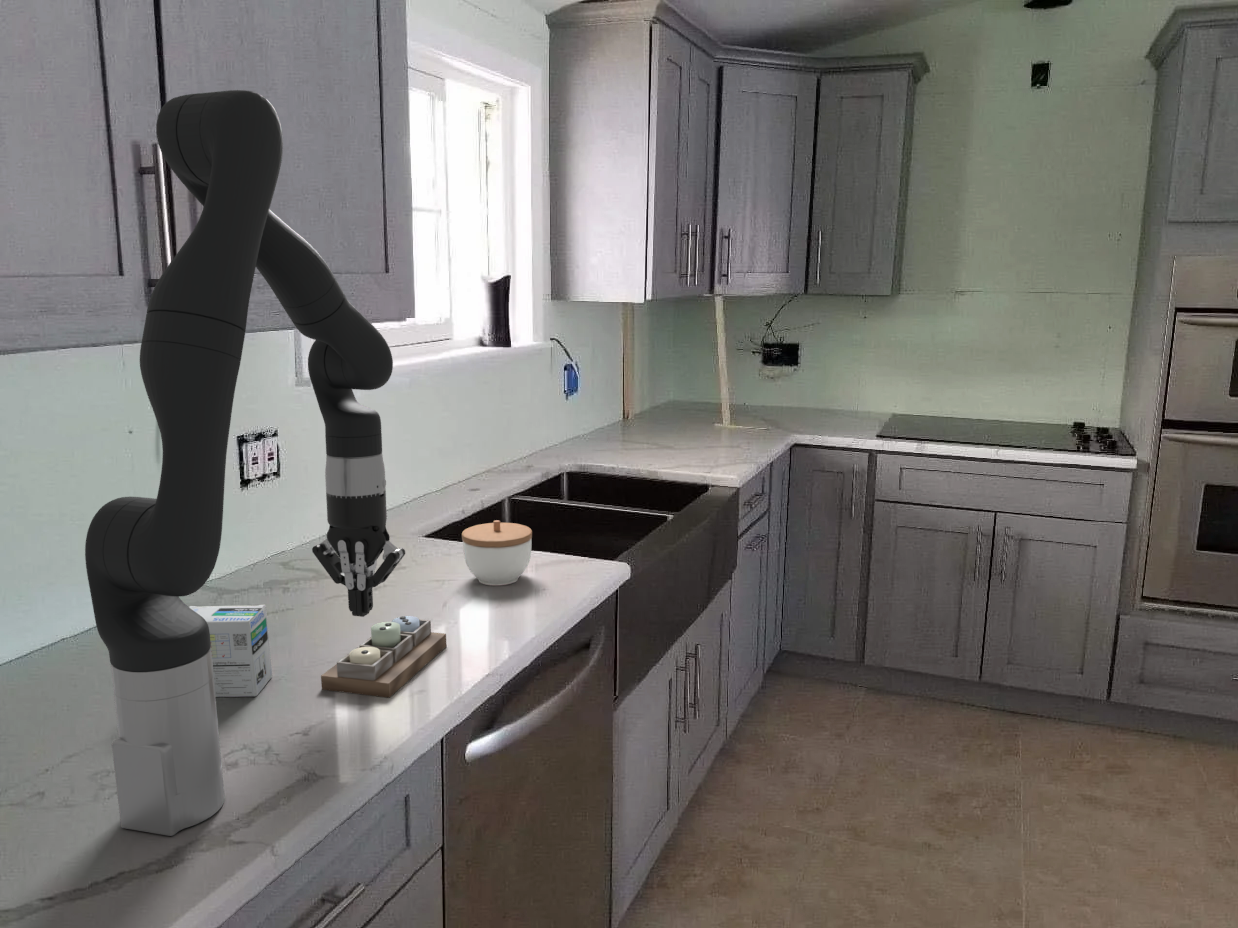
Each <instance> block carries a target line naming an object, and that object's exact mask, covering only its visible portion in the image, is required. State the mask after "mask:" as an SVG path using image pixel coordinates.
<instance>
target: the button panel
mask: <svg viewBox="0 0 1238 928" xmlns="http://www.w3.org/2000/svg"><path fill="white" fill-rule="evenodd" d="M398 617H399V616H398ZM398 617H396V618H398ZM431 622H432V621H431V620H429V619H419V624H420V627H419V628H418V629H416V630H415V631H414V632H405V631H400V634H401V642H400V643H399V644H398V645H397V646H395V647H394V648H389V647H379V646H372V639H371V637H369V638H367V639H366V640H365V641H364V642H362V643H361V644H360V645H359V647H355V649H357V648H361V647H376V648H378V649H379V650H380V659H379V660H378V661H377V662H375V663H374V664H373V665H367V664H358V663H350V652H349V653H347V654H346V655H345V656H344V657H342V658H341V659H340V660H338V661H337V662H336V664H334V665H333V666H332V667H331V668H330V669H328V670H327V671H324V673H323V674H321V675H320V681H321V683H320V684H321V690H323V691H329V692H331V691H332V692H337V693H338V692H340V693H348V694H357V695H363V696H364V695H365V696H372V697H380V698H381V697H382V698H383V697H384V698H389V699H390V698H391V697H392V696H393V695H395V693H397V692H398V691H399V690H400V689H401V688H403V686H405V684H407V683H408V682H409V681H410V680H411V679H412V678H414V677H415V675H417V674H418V672H420V671H421V670H422V669H424V668H425V667H426V665H428V663H430V662H431V661H432V660H433V659H434V658H435V657H436V656H437V655H439V654H440V653H441V652H443V650H444V649H445V648H446V647H447V633H441V632H432V626H431Z"/></svg>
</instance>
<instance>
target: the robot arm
mask: <svg viewBox="0 0 1238 928" xmlns="http://www.w3.org/2000/svg"><path fill="white" fill-rule="evenodd" d="M155 130H156V133H155V134H156V138H157V143H158V147H159V149H160V151H161V153H162V157H163V158H164V160H165V161H166V163H167V165H168V166H169V168H170V169H171V170H172V172H173V173H174V174H175V176H176V177H177V178H178V179H179V181H180V182H181V183H182V184H183V185H184V186H185V188H186V189H187V190H188V191H189V192H190V193H191V194H192V196H193V197H194V198H195V199H196V200H197V201H198V202H199V203H200V204H201V205H202V206H203V208H202V210H201V214H200V215H199V219H198V221H197V223H196V225H195V226H194V229H193V230H192V232H191V233H190V235H189V236H188V238H187V239H186V241H185V242H184V244H183V245H182V246H181V247H180V249H179V250H178V251H177V253H176V254H175V255H174V257H173V258H172V260H171V261H170V262H169V264H168V265H167V267H166V268H165V270H164V271H163V272H162V274H161V276H160V278H159V279H158V281H156V282H157V283H156V285H155V286H154V288H153V290H152V292H151V295H150V298H149V301H148V305H147V309H146V315H145V321H144V327H143V333H142V339H141V344H140V350H139V367H140V369H139V370H140V374H141V378H142V379H141V380H142V382H143V385H144V389H145V392H146V395H147V398H148V400H149V402H150V406H151V408H152V411H153V413H154V416H155V419H156V423H157V426H158V429H159V433H160V437H161V446H162V447H161V448H162V462H161V463H162V464H161V472H160V477H159V480H160V481H159V484H158V485H159V486H158V491H157V495H156V498H151V497H141V496H121V497H118V498H114V499H112V500H111V501H108V502H107V503H105V504H104V505H102V506H101V507H100V509H98V511H96V513H95V515H94V516H93V517H92V520H91V521H90V524H89V525H88V528H87V532H86V536H85V538H86V539H85V542H84V543H85V545H84V546H85V547H84V551H85V552H84V559H85V568H86V576H87V581H88V586H89V592H90V597H91V604H92V610H93V615H94V620H95V625H96V629H97V632H98V635H99V637H100V639H101V640H102V642H103V644H104V645H105V646H106V649H107V651H108V655H109V662H110V671H111V678H112V688H113V697H114V706H115V707H114V708H115V716H116V723H117V724H116V725H117V732H118V737H117V738H115V739H114V740H113V741H112V742H111V750H112V751H111V753H112V758H113V759H112V760H113V768H114V777H115V787H116V794H117V795H116V796H117V803H118V804H117V805H118V810H119V819H120V827H121V828H122V829H126V830H133V831H139V832H143V833H144V832H145V833H151V834H157V835H162V836H169V837H170V836H171V837H173V836H174V835H176V834H177V833H178V832H180V831H181V830H184V829H186V828H189V827H193V826H196V825H198V824H200V823H203V822H204V821H206V820H207V819H209V818H211V817H212V816H214V815H215V814H216V813H217V812H218V811H220V809H221V808H222V806H223V804H224V803H225V799H226V798H225V787H224V786H225V785H224V774H223V765H222V753H221V743H220V734H219V733H220V732H219V720H218V710H217V700H216V698H217V697H215V686H214V675H213V663H212V652H211V641H210V631H209V627H208V624H207V622H206V621H205V619H204V618H203V617H202V616H200V615H199V614H198V613H196V612H195V611H193V610H192V609H190V608H189V606H188V605H187V604H186V603H185V602H184V601H183V600H182V599H181V597H186V596H190V595H192V594H194V593H196V592H197V591H199V590H200V589H201V588H203V587H204V585H205V584H206V583H207V581H208V580H209V579H210V577H211V575H212V573H213V571H214V569H215V566H216V563H217V560H218V558H219V557H218V556H219V553H220V548H221V541H222V533H223V519H224V518H223V517H224V502H225V501H224V500H225V499H224V498H225V497H224V495H225V483H226V482H225V481H226V464H227V452H228V444H229V435H230V427H231V421H232V413H233V406H234V405H233V404H234V398H235V391H236V386H237V382H238V376H239V371H240V367H241V361H242V356H243V349H244V343H245V337H246V331H247V323H248V322H247V321H248V313H249V305H250V298H251V293H252V288H253V283H254V277H255V271H256V269H257V270H258V272H259V273H260V274H261V276H262V277H263V279H264V280H265V281H266V283H267V284H268V286H269V287H270V289H271V290H272V292H273V294H275V296H276V299H277V300H278V302H279V303H280V305H281V306H282V308H283V310H285V313H286V314H287V316H288V317H289V319H290V320H291V322H292V324H293V326H295V328H296V329H297V330H298V332H299V333H300V334H301V335H303V336H304V337H306V338H308V339H312V340H314V341H313V343H312V344H311V347H310V349H309V353H308V358H307V370H308V376H309V378H310V379H309V380H310V382H311V385H312V389H313V391H314V395H315V397H316V401H317V404H318V407H319V408H318V409H319V410H320V413H321V417H322V419H323V423H324V431H325V433H324V434H325V437H324V439H325V454H326V457H325V458H326V461H325V471H324V473H325V475H324V477H325V497H326V499H325V500H326V516H327V517H326V518H327V519H326V520H327V524H329V527H328V530H327V533H326V539H325V540H323V541H322V542H320V543H318V544H317V545H314V546H313V547H312V548H311V550H312V553H313V555H314V557H316V558H317V560H318V562H319V563H320V564H321V566H322V567H323V569H324V570H325V571H326V573H327V574H328V575H329V577H330V578H331V580H332V581H333V582H334V583H335V584H338V585H339V584H341V585H343V586H344V587H346V589H347V598H348V599H347V600H348V601H347V602H348V609H349V611H350V612H351V614H352V616H353V617H361V618H364V617H366V616H367V615H369V613H370V612H371V611H372V610H373V607H374V596H373V588H376V587H378V586H379V585H380V584H382V583H384V582H385V581H386V580H388V578H389V576H390V575H391V574H392V573H393V571H394V570H395V569H396V568H397V566H398V565H399V563H400V562H401V561H402V559H403V558H404V556H405V555H406V550H405V548H403V547H397V546H395V545H394V544H393V543H392V541H390V539H391V538H390V537H391V536H390V534H389V532H388V529H387V527H386V526H387V519H388V518H387V516H388V515H387V491H386V490H387V489H386V488H387V487H386V485H387V481H386V471H385V470H386V469H385V463H384V457H383V456H384V455H383V444H382V443H383V437H382V435H383V434H382V422H381V421H382V420H381V416H380V414H379V412H378V411H376V410H375V409H373V408H371V407H367V406H365V405H364V404H361V403H359V402H358V401H357V398H356V396H355V394H354V392H353V390H358V391H373V390H377V389H379V388H382V387H383V386H384V385H386V384H387V383H388V381H390V379H391V376H392V373H393V369H394V368H393V367H394V360H393V356H392V355H393V354H392V351H391V349H390V347H389V344H388V342H387V340H386V339H385V338H384V336H383V334H381V332H380V331H379V330H378V329H377V328H376V327H375V325H373V323H371V322H370V320H368V319H367V318H366V316H365V315H363V313H362V312H360V311H359V310H358V308H357V307H355V306H354V305H353V304H352V303H351V302H350V301H349V300H348V298H347V296H346V295H345V293H344V290H343V289H342V287H341V285H340V284H339V281H338V280H337V278H336V277H335V274H334V273H333V271H332V270H331V268H330V266H329V265H328V263H327V261H326V260H325V259H324V258H323V256H321V254H320V253H319V252H318V250H316V248H315V247H314V246H312V244H311V243H309V242H308V241H307V240H306V239H305V238H304V237H302V236H301V235H300V234H299V233H298V232H296V231H295V230H294V229H293V228H291V227H290V226H289V225H288V224H287V223H285V222H284V221H283V219H281V218H280V217H279V216H278V215H276V214H275V213H274V212H273V211H272V210H271V209H270V207H271V204H272V200H273V198H274V194H275V191H276V187H277V182H278V179H279V176H280V175H279V174H280V172H281V165H282V161H283V160H282V159H283V152H284V151H283V149H284V137H283V129H282V125H281V121H280V118H279V115H278V113H277V111H276V109H275V107H274V106H273V104H272V103H271V102H270V101H269V99H267V97H265V96H264V95H262V94H260V93H258V92H256V91H252V90H244V89H243V90H242V89H241V90H240V89H239V90H238V89H237V90H236V89H233V90H232V89H230V90H220V91H211V92H202V93H198V92H197V93H191V94H189V93H188V94H184V95H179V96H176V97H172V98H171V99H169V100H167V102H165V103H164V104H163V106H161V109H160V111H159V112H158V114H157V119H156V128H155ZM381 554H382V560H383V561H382V563H381V564H380V565H379V567H378V568H377V565H378V561H377V560H378V558H379V557H380V556H381ZM376 568H377V569H376ZM375 570H376V571H375Z"/></svg>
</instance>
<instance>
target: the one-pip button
mask: <svg viewBox="0 0 1238 928" xmlns="http://www.w3.org/2000/svg"><path fill="white" fill-rule="evenodd" d="M356 648H357V647H356ZM356 648H354V649H352V650H351V651H350V652H349V653H350V663H358V664H367V665H373V664H374V663H375V662H377V661H378V660H379V659H380V650H379V649H378V648H376V647H361V648H357V649H356Z"/></svg>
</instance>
